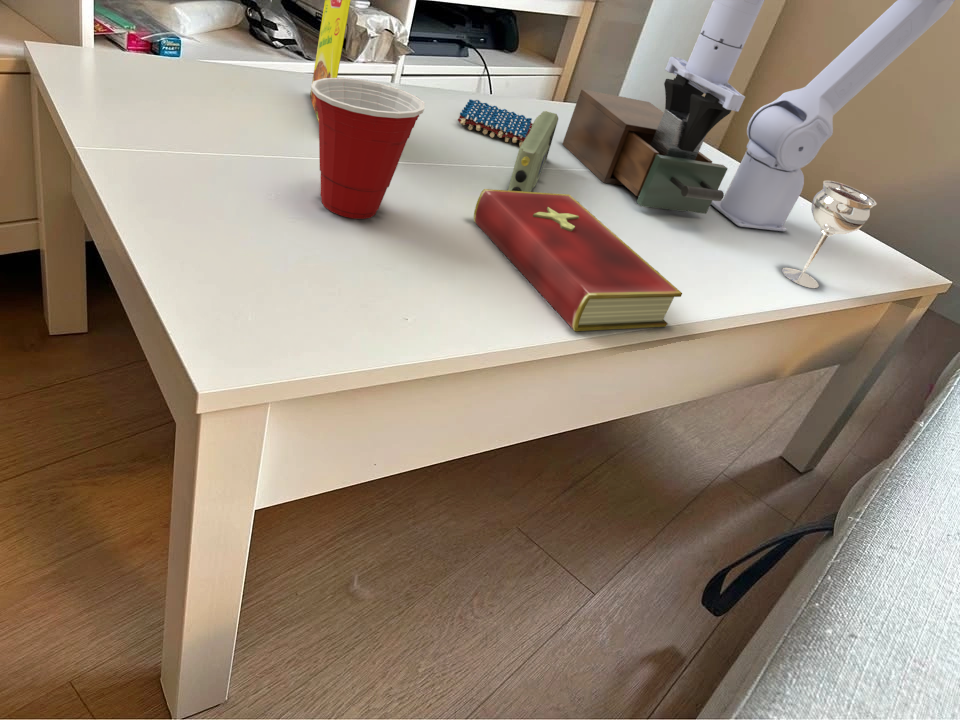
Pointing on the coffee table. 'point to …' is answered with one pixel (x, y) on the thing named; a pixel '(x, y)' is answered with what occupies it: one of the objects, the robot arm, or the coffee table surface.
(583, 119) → the cabinet
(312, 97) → the food package
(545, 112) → the handheld radio
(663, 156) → the drawer
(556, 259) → the hardcover book
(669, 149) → the metal cube
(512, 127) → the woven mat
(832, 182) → the wineglass
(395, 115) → the plastic cup
